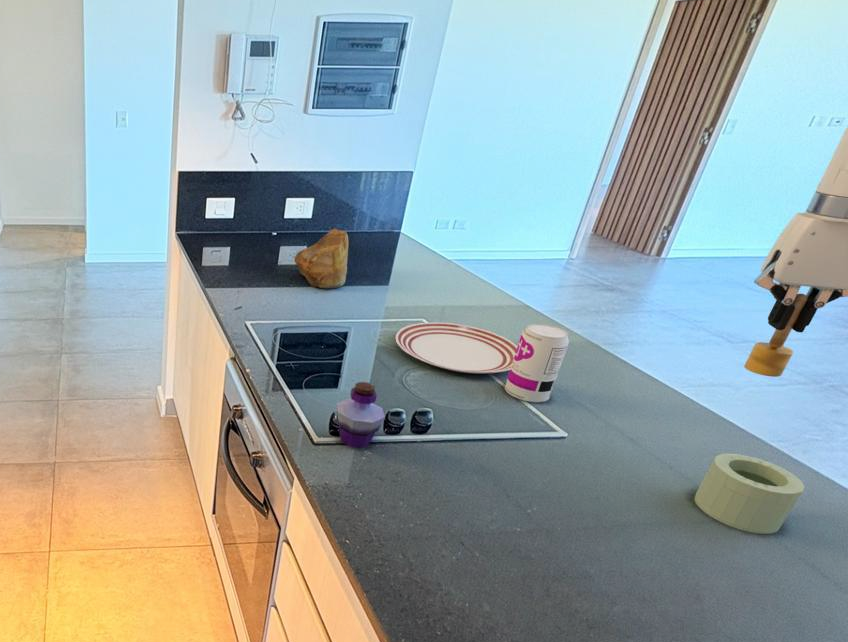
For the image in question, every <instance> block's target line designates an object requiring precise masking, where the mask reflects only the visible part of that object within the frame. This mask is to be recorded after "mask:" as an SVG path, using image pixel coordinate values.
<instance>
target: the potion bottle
mask: <svg viewBox="0 0 848 642" xmlns="http://www.w3.org/2000/svg"><path fill="white" fill-rule="evenodd" d="M349 395H350V398H346V399H344V400H341V401H338V402H337V403H336V414H337V416H336V417H337V422H338V428H339V429H338V430H339V439H340V442H341V443H343V444H344V445H346V446H348V447H350V448H359V449H363V448H365V447H366V446H368V445H370V443H371V442H372V439H373V438H374V436H375V434H376V432H379V429H380V428H381V426H382V424H383V422H384V420H385V418H386V416H385V413H384V410H383V407H381V406H379V405H377V404H376V401H377V396H378V395H377V392H376V390H375V386H374V385H373V384H371V383H370V382H366V381H358V382H356V383H355V385H354V387H353V388H351V390H350V394H349Z"/></svg>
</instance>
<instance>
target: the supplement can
mask: <svg viewBox="0 0 848 642" xmlns="http://www.w3.org/2000/svg"><path fill="white" fill-rule="evenodd" d="M569 344H570V341H569V337H568V332H567V331H566V330H564V329H562V328H560V327H558V326H554V325H550V324H544V323H531V324H528V325H527V326H526V328H525V329H524V330H522V332H521V335H520V337H519V341H518V344H517V346H518V347H517V350H516V353H515V356H514V359H513V362H512V366H511V369H510V370H509V372H508V375H507V379H506V381H505V385H504V391H505V392H506V393H507V394H508V395H510V396H511V397H513V398H515V399H517V400H519V401H524V402H529V403H542V402H547V401H548V400H550V397H551V394H552V391H553V388H554V385H555V384H556V380H557V378H558V374H559V372H560V369H561V366H562V364H563V360H564V358H565V356H566V353H567V349H568V346H569Z"/></svg>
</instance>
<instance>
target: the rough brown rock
mask: <svg viewBox="0 0 848 642" xmlns="http://www.w3.org/2000/svg"><path fill="white" fill-rule="evenodd" d="M348 255H349V235H348V232H347V231H345V230H340V229H338V228H332V229H331V230H330V231H329V232H326V234H324V235H323V236H322V237H321V238H320V239H319V240H318V241H317V242H315V243H314V244H313V245H311V246H308V247H306V248H303V249H301V250H299V251H298V252H297V253H296V255H295V256H294V263H295V264H296V267H297V268H298V270H299V274H301V275H302V276H304V277H305V279H306V281H307V282H308V283H309V285H311V286H312V287H313V288H316V287H319V288H320V289H325V290H326V289H338V288H340V287H342V286H344V285H345V284H346V280H347V274H348V258H349V256H348Z"/></svg>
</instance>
